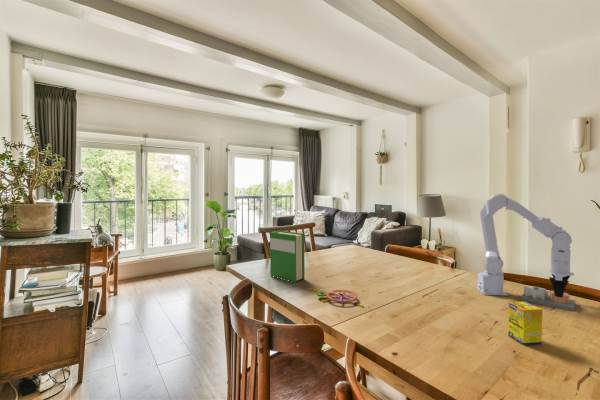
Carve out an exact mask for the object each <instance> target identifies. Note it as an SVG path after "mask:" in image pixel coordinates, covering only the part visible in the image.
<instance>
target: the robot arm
mask: <svg viewBox="0 0 600 400" xmlns="http://www.w3.org/2000/svg"><path fill="white" fill-rule="evenodd" d="M503 208H505V210H508V211H514V212H515V213H517V214H518V215H520V216H522V217H523V218H524V219H526V220H527V221H528V222H531V226H532V228H533V229H534V230H536V231H537V232H539V233H540V234H541V235H543V236H545V238H548V239H549V238H550V239H551V241H552V243H551V249H550V270H549V273H551V275H552V277H549V281H550V283H551V285H552V288H553V291H554V294H555V296H556V297H561V298H562V297H563V294H564V293H565V289H566V287H567V285H568V284H569V282H570V281H569V279H570V277H571V276H575V273H574V272H571V249H570V248H571V245H570V244H571V243H572V241H573V238H572V237H571V236H572V235H570V233H568V232H567V230H565V229H564V228H563V227H562V226H558V225H557V224H555V223H554V222H552V220H551V218H549V217H547V218H546V217H545V216H537V215H536V214H534V213H533V212H532V211H531V210H529V209H528V208H526V207H525V206H524V205H522V204H520V203H519V202H518V201H516V200H514V199H512V198H511V197H507V196H506V195H505V194H504V193H503V194H502V193H497V194H493V195H491V196H490V197H489V198H487V199H486V201H485V203H484V205H483V207H482V208H481V210H480V212H479V215H480V223H481V229H482V235H483V242H484V249H485V263H484V271H483V272H478V273H477V283H476V284H477V287H476V289H477V290H478V291H479V292H480V293H481V294H483V295H487V296H503V297H504V296H508V294H507V293H506V292H505V291H504V278H505V276H504V271H502V270H503V266H504V261H503V259H502V258H501V256H500V251H499V249H498V248H499V246H498V241H497V235H496V229H495V221H494V215H495V214H496V213H497V212H499V210H501V209H503Z"/></svg>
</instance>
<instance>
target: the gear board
mask: <svg viewBox="0 0 600 400" xmlns="http://www.w3.org/2000/svg"><path fill="white" fill-rule="evenodd" d="M521 301H522V302H528V303H533V304H538V305H542V306H547V307H551V308H552V307H553V308H557V309H561V310H564V311H569V312H570V311H571V312H575V310H576V301H577V300H576V299H571V298H569V303H558V302H555V301H552V300H550V294H549V290H547V289H546V288H543V287H539V286H535V285H534V286H531V285H527V286H524V287H523V294H522V296H521Z"/></svg>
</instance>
